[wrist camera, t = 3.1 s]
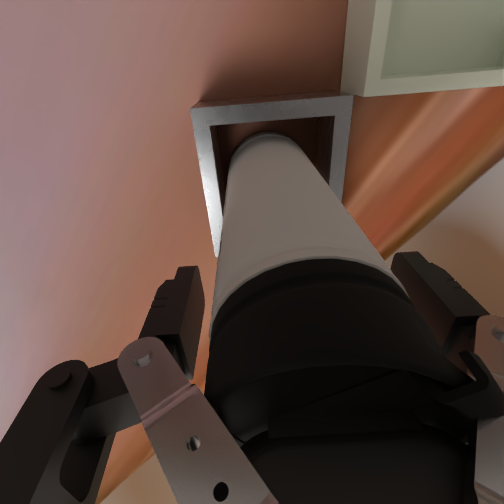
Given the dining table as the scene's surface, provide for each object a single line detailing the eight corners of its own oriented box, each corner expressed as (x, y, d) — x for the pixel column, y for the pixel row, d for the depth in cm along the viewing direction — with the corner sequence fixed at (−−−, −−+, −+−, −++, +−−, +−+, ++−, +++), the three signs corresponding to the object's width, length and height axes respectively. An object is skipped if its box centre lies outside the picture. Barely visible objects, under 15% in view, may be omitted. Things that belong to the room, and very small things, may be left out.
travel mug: (324, 173, 23) (548, 458, 6) (261, 220, 25) (302, 525, 8) (278, 108, 20) (459, 304, 3) (212, 167, 22) (129, 462, 6)
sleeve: (198, 101, 20) (189, 108, 16) (334, 90, 20) (353, 95, 16) (218, 232, 26) (215, 257, 22) (323, 224, 25) (336, 247, 22)
